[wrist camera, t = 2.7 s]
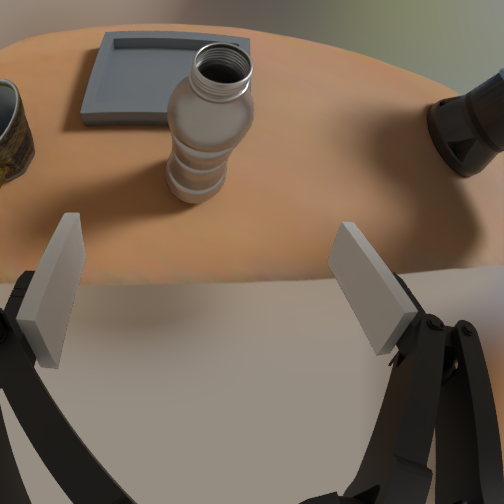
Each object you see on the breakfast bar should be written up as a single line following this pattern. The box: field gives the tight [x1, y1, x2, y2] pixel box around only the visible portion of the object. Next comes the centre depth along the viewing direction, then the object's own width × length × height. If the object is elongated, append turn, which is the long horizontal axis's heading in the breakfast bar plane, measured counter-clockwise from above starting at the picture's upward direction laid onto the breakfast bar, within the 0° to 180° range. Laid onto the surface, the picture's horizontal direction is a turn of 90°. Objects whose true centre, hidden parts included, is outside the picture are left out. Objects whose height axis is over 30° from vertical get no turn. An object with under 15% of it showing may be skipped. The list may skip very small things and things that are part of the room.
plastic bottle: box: [165, 42, 254, 204], centre depth 26 cm, size 6×7×20 cm
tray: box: [80, 31, 251, 126], centre depth 35 cm, size 20×14×3 cm
